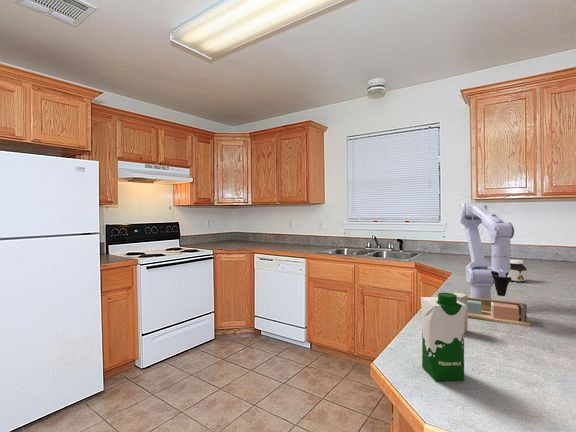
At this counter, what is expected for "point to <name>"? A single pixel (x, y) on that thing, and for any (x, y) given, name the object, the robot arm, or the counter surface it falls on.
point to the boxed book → (504, 311)
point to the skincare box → (463, 299)
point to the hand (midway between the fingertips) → (500, 293)
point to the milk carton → (443, 337)
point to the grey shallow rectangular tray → (523, 314)
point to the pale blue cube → (474, 307)
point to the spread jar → (517, 271)
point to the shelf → (487, 312)
